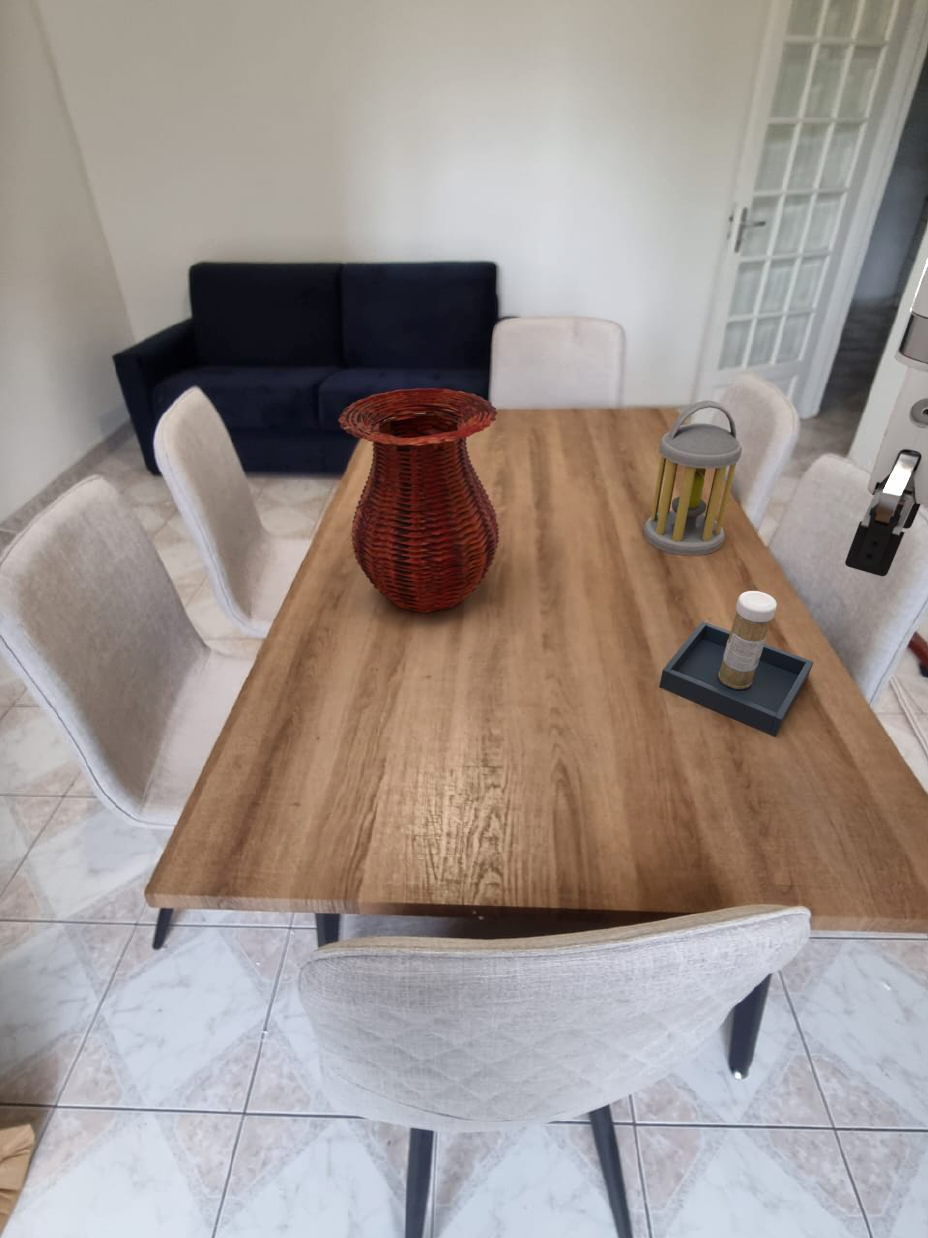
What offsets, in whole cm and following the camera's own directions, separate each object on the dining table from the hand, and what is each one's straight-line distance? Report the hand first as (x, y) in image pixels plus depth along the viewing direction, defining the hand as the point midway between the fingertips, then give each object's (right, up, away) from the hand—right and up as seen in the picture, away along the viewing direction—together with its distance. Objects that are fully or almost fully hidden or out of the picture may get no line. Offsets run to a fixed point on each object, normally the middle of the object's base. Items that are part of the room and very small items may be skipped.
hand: (878, 545), depth 59 cm
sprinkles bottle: (+1, -15, +33) cm, 36 cm away
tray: (+1, -15, +33) cm, 37 cm away
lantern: (+4, +9, +66) cm, 67 cm away
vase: (-42, -1, +54) cm, 68 cm away
